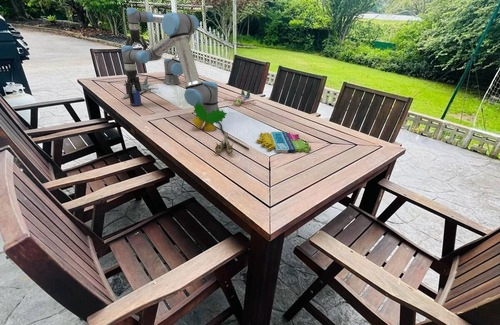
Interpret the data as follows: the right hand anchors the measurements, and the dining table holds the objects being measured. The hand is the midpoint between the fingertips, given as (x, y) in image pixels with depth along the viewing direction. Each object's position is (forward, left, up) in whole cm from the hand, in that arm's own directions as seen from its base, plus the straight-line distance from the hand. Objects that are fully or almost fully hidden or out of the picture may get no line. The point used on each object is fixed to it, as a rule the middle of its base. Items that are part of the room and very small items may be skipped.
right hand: (135, 101), depth 195 cm
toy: (+4, -82, -3) cm, 83 cm away
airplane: (+35, +1, -3) cm, 35 cm away
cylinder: (0, 0, -2) cm, 2 cm away
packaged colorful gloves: (-79, -86, -3) cm, 117 cm away
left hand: (+49, -1, +24) cm, 55 cm away
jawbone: (-85, -51, -3) cm, 99 cm away
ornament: (-53, -48, -3) cm, 71 cm away
